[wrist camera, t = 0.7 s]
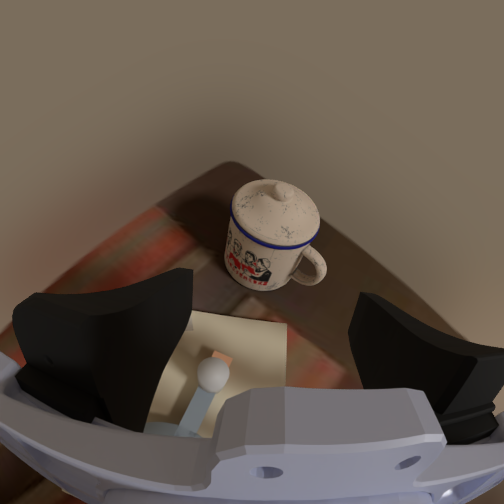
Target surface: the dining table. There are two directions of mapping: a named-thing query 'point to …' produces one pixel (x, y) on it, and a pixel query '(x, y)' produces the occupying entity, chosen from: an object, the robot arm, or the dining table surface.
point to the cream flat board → (240, 370)
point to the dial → (197, 398)
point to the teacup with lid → (272, 235)
